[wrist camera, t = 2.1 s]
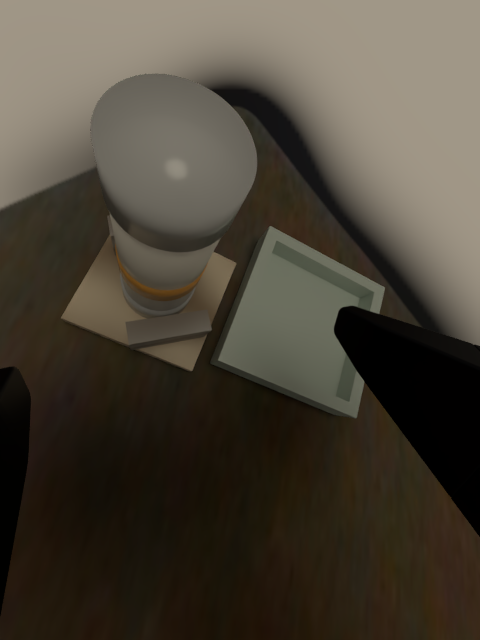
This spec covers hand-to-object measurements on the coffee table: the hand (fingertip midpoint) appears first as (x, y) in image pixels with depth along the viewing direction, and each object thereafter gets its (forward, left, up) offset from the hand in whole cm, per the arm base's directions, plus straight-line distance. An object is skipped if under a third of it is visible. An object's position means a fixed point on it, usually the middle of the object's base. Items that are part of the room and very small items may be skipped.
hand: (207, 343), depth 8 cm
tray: (+6, -7, -11) cm, 15 cm away
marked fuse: (+4, +3, -10) cm, 12 cm away
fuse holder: (+4, +3, -11) cm, 12 cm away
